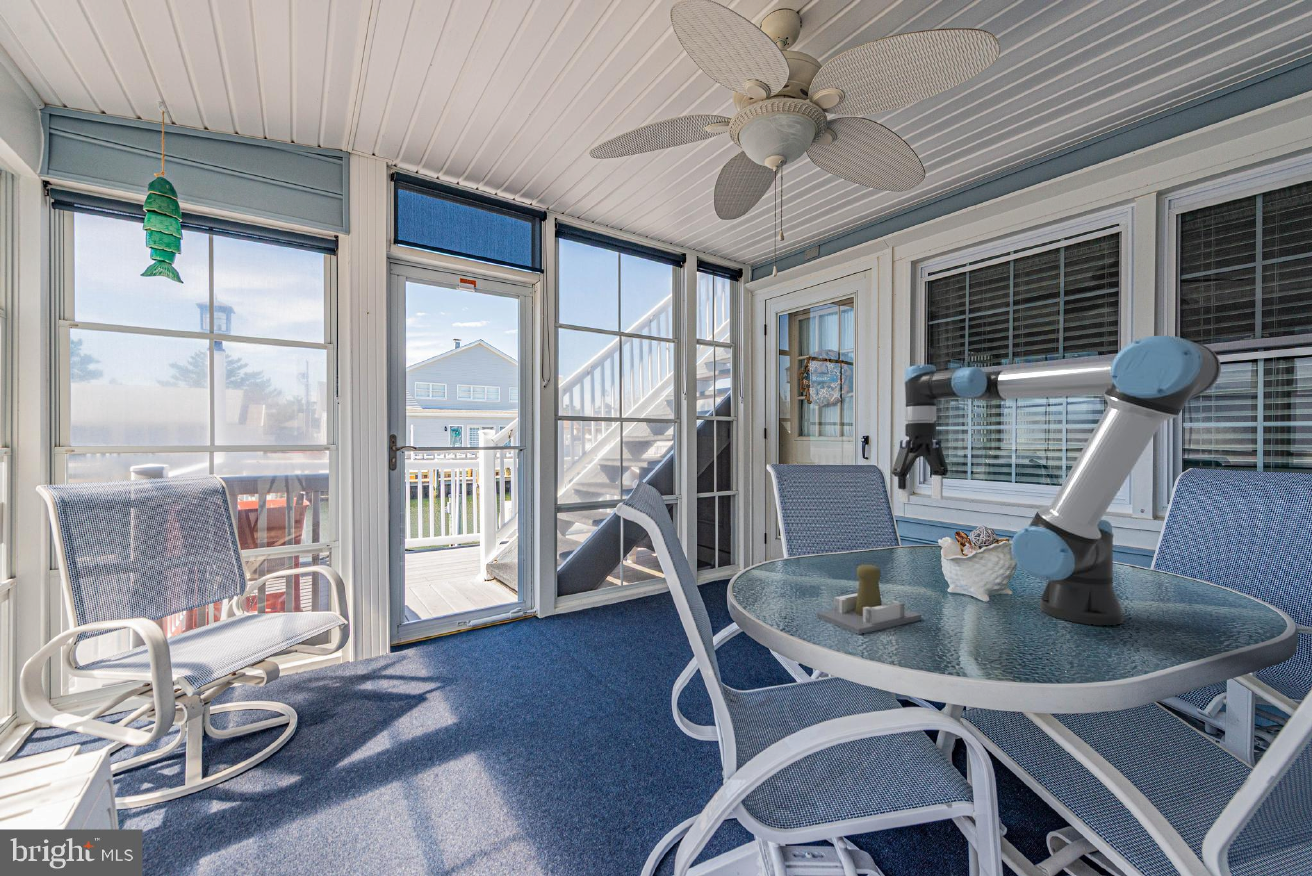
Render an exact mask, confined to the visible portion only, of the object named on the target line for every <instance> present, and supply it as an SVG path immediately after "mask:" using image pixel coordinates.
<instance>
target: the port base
mask: <svg viewBox="0 0 1312 876" xmlns="http://www.w3.org/2000/svg"><path fill="white" fill-rule="evenodd" d="M857 594H858V592H857V593H850V594H845V595H840V596H836V597H834V598H833V601H834V602H833V609H828V610H823V611H819V612H816V618H817V617H818V618H817V619H819V618H820V619H819V620H821V619H823V620H822V621H824V622H826V621H827V623H829V624H831V623H832V625H834V624H835V625H834V626H836V625H837V627H838V626H840V627H839V628H841V627H842V628H841V629H843V628H845V629H844V630H846V629H847V630H846V631H848V630H850V631H849V632H851V633H853V632H854V633H853V634H856V633H857V634H856V635H859V634H860V635H863V634H862V633H864V634H868V633H872V632H877V631H881V630H885V629H889V628H893V627H897V626H901V625H905V624H909V623H914V622H919V621H921V620H922V613H921V614H920V613H917V612H914V611H911V610H908V609H905V603H904V602H901V601H897V600H893V601H891V602H890V603H886V602H883V601H881V603H882V605H881V606H876V607H871V608H870V607H863V616H860V615H858V614H856V613H855V609H856V601H857ZM860 635H859V636H860Z"/></svg>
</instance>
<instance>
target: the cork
mask: <svg viewBox="0 0 1312 876" xmlns="http://www.w3.org/2000/svg"><path fill="white" fill-rule="evenodd" d="M856 576H857V578H858V579H859V580H858V581H859V582H858V586H857V588H858V589H857V593H858V594H857V601H856V609H855V613H856V614H858V615H860V616H863V607H870V608H871V607H876V606H881V605H882V603H881V602H882V598H881V589H880V583H879V581H880V580H881V577H882V572H881V569H880V568H879V567H878V566H876V565H872V564H860V565H858V567H857V568H856Z"/></svg>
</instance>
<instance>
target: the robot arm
mask: <svg viewBox="0 0 1312 876" xmlns="http://www.w3.org/2000/svg"><path fill="white" fill-rule="evenodd" d="M936 368H937V367H936V366H935V365H933V364H917V365H911V366H909V367H907V368H906V370H905V379H904V380H905V381H904V389H905V390H904V391H905V421H906V422H907V423H906V424H905V428H904V429H905V433H904V434H905V437H908V439H900V441H899V450H898V451H897V452H898V453H897V456H896V458H895V460H894V461H895V462H894V464H893V468H892V471H891V473H892V475H894V477H895V478H896V477H897V488H898V501H899V502H903V503H910V501H911V496H910V495H911V494H910V493H911V492H910V491H911V489H910V488H911V487H910V484H911V479H910V477H908V475H909V474H910V472H911V470H912V468H913V466H914V464H915V462H916V461H917V459H919V458H920V457H922V458H924V460H925V461H926V462H927V465H928V466H929V468H930V470H931V472H932V473H933V474H932V475H931V499H934V500H943V486H944V485H943V484H944V482H943V481H944V480H943V479H944V476H945V477H946V476H947V475H948V473H949V468H948V465H947V462H946V459H945V455H944V453H943V449H942V442H941V440H940V439H933V437H934V438H935V437H936V436H937V424H936V423H935V422H936V421H937V400H947V399H948V400H949V399H950V400H951V399H962V400H963V399H964V400H976V401H977V400H980V401H985V402H987V401H988V402H992V401H997V400H998V401H999V400H1009V399H1010V400H1013V399H1031V398H1033V399H1034V398H1035V399H1036V398H1054V397H1055V398H1057V397H1060V398H1061V397H1076V396H1077V397H1079V396H1080V397H1081V396H1082V397H1083V396H1100V395H1103V396H1104V398H1105V400H1106V402H1107V407H1106V409H1105V410H1104V412H1103V414H1102V416H1101V418H1100V419H1099V421H1098V423H1097V424H1096V426H1095V428H1094V429H1093V431H1092V433H1091V434H1090V436H1089V438H1088V439H1087V441H1086V443H1085V445H1084V447H1083V448H1082V450H1081V452H1080V454H1079V455H1078V456H1077V459H1076V461H1075V462H1074V464H1073V466H1072V467H1071V469H1070V471H1069V473H1068V474H1067V476H1066V478H1065V480H1064V481H1063V483H1062V485H1061V486H1060V488H1059V490H1058V492H1057V493H1056V495H1055V497H1054V498H1053V500H1052V502H1051V504H1050V505H1048V506H1044V507H1039V509H1037V511H1036V513H1035V514H1034V517H1033V518H1032V519H1031V522H1030V523H1029V525H1028V526H1026V527H1023V528H1021V530H1020V529H1019V531H1017V532H1016V533H1015V534H1014V536H1013V538H1012V540H1011V555H1012V556H1013V559H1014V561H1015V563H1016V564H1017V566H1018V568H1020V569H1021V570H1022V571H1023V572H1024V573H1026V574H1027V575H1029V576H1031V577H1033V578H1035V579H1038V580H1040V581H1041V580H1042V581H1047V582H1046V584H1045V587H1044V589H1043V592H1042V594H1041V597H1040V600H1039V609H1040V610H1041V612H1043V613H1044V614H1046V615H1049V616H1051V617H1053V618H1057V619H1061V620H1064V621H1069V622H1074V623H1078V624H1083V625H1085V624H1086V625H1091V624H1093V626H1102V625H1107V626H1108V625H1109V627H1111V626H1110V625H1113V626H1116V625H1115V624H1120V623H1122V624H1124V622H1123V621H1124V610H1123V607H1122V605H1121V603H1120V600H1119V598H1118V595H1117V593H1116V590H1115V588H1114V580H1113V577H1114V555H1113V553H1114V545H1113V544H1114V543H1113V542H1114V541H1113V539H1114V532H1113V525H1112V523H1111V522H1110V521H1108V520H1106V519H1103V517H1104V515H1105V513H1106V512H1107V511H1108V509H1109V507H1110V505H1111V504H1112V502H1113V501H1114V499H1115V497H1116V496H1117V494H1118V492H1119V491H1120V489H1121V488H1122V486H1123V484H1124V483H1125V481H1126V480H1127V478H1128V477H1129V476H1130V474H1131V471H1133V469H1134V468H1135V466H1136V464H1137V462H1138V460H1139V459H1140V458H1141V456H1142V454H1143V453H1144V451H1145V449H1146V448H1147V446H1148V445H1149V444H1150V442H1151V440H1152V439H1153V437H1154V435H1155V434H1156V432H1157V431H1158V429H1159V427H1160V426H1161V425H1162V423H1163V422H1164V421H1168V420H1170V419H1174V418H1178V416H1179V415H1180V413H1181V412H1182V410H1183V409H1184V407H1185V405H1186V404H1187V402H1188V401H1189V399H1192V398H1195V397H1198V396H1200V395H1202V394H1204V393H1206V392H1207V391H1209V390H1210V389H1211V388H1212V387H1213V386H1214V385H1215V384H1216V383H1217V381H1218V380H1219V377H1220V376H1221V375H1220V374H1221V371H1222V366H1221V361H1220V359H1219V357H1218V355H1217V354H1216V353H1215V352H1214V350H1212V349H1211V348H1209V347H1208V346H1207V345H1204V344H1201V343H1198V342H1193V341H1191V340H1188V339H1185V338H1182V337H1180V336H1171V335H1153V336H1147V337H1146V336H1145V337H1143V338H1140V339H1137V340H1134V341H1132V342H1130V343H1129V344H1127V345H1126V346H1124V347H1123V348H1122V349H1120V351H1119V352H1117V354H1116V355H1115V357H1114V358H1113V360H1103V361H1095V362H1094V361H1093V362H1084V363H1083V362H1081V363H1072V364H1070V363H1069V364H1061V365H1050V366H1039V367H1038V366H1037V367H1027V368H1025V367H1024V368H1016V369H1003V370H994V371H993V370H992V371H983V370H982V368H980V367H978V366H972V367H969V366H968V367H967V366H964V367H961V368H953V369H947V370H938V371H937V369H936ZM1120 625H1121V624H1120ZM1107 626H1106V627H1107Z"/></svg>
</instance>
